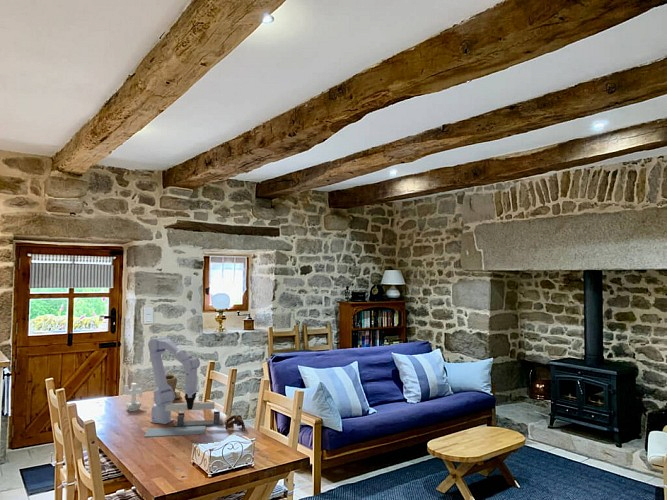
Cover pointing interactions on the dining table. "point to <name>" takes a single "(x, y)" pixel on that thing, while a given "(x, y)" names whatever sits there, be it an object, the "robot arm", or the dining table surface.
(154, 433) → the slate mat
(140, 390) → the figurine
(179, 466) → the dining table surface
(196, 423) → the hook standards
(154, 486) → the dining table surface
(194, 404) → the steel rail
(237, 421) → the brown arched figure
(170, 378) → the stone cup
